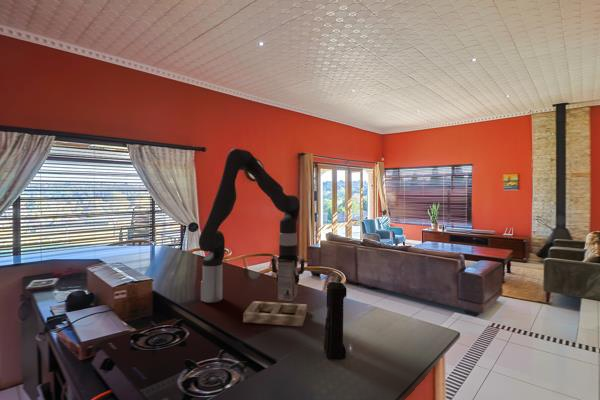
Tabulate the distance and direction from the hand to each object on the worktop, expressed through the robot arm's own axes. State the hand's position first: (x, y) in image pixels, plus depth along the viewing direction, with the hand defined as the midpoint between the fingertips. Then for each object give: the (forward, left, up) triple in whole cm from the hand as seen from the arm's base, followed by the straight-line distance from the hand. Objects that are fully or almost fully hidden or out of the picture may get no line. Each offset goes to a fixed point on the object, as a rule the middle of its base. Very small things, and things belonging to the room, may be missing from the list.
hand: (288, 283), depth 127 cm
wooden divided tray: (-5, 0, -15) cm, 15 cm away
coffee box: (0, 0, -6) cm, 6 cm away
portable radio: (+20, -25, -15) cm, 35 cm away
